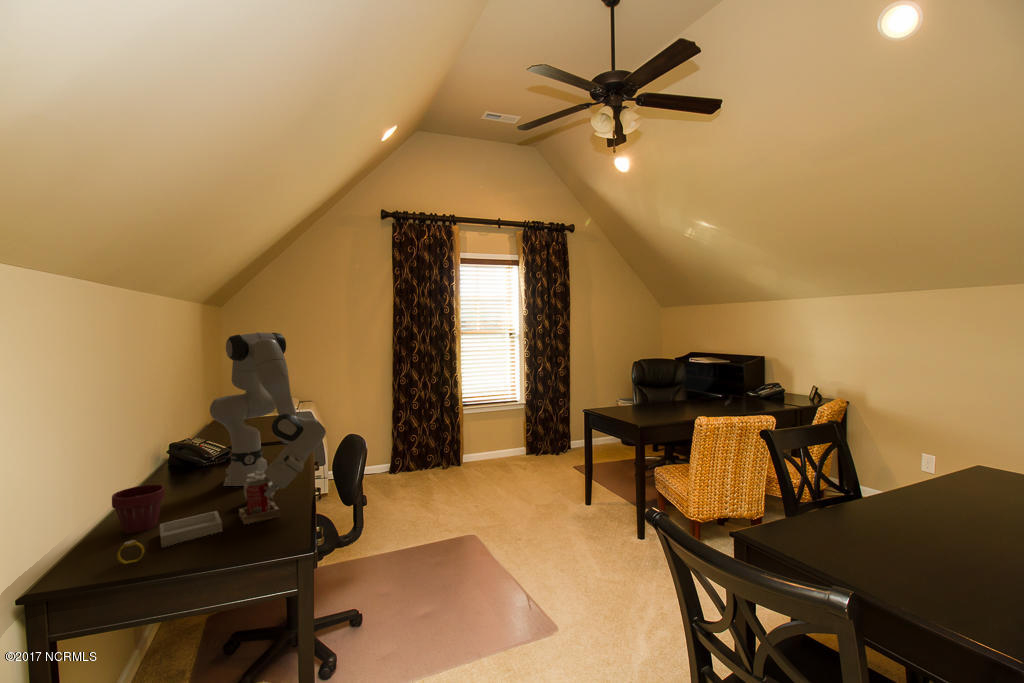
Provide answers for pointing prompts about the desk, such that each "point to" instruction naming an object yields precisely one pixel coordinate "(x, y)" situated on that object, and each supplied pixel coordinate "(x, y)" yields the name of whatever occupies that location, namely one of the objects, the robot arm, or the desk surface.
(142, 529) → the plant pot
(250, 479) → the mechanical part
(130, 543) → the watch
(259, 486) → the soda can
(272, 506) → the can holder
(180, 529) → the tray
